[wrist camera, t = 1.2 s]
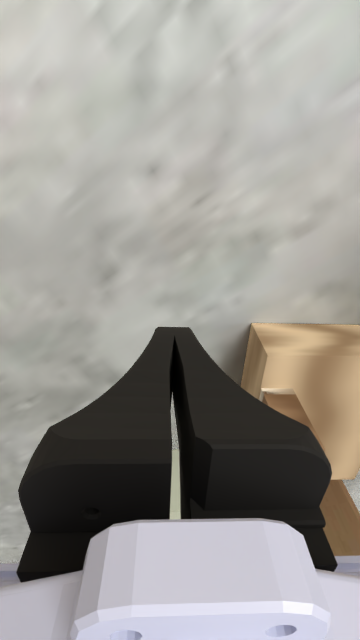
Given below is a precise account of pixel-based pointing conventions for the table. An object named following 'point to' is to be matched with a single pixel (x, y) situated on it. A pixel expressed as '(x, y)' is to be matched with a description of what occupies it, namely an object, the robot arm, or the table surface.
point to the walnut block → (287, 405)
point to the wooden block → (341, 520)
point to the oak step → (313, 381)
